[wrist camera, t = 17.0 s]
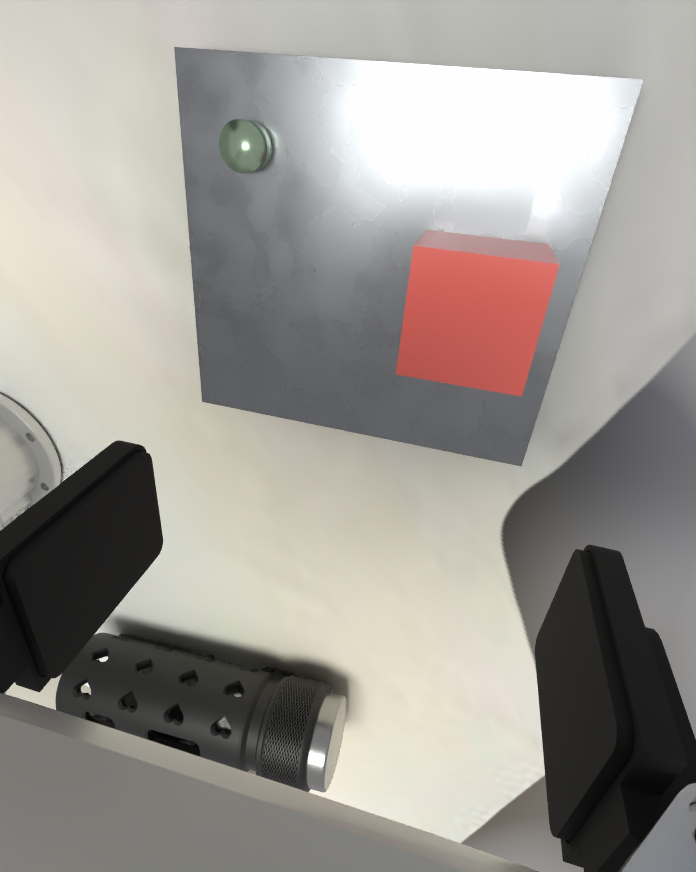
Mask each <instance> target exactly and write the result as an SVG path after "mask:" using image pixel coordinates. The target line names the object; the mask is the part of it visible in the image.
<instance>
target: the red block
mask: <svg viewBox="0 0 696 872" xmlns="http://www.w3.org/2000/svg"><path fill="white" fill-rule="evenodd" d="M559 265H560V264H559V262H558V260H557V258H556V256H555V254H554V252H553V250H552V248H551V246H550V244H543V243H534V242H526V241H518V240H510V239H502V238H493V237H485V236H477V235H469V234H461V233H453V232H444V231H436V230H428V229H427V230H426V231H425V232H424V233H423V235H422V236H421V237H420V238H419V239H418V241H417V242H416V243H415V244H414V245H413V252H412V259H411V267H410V274H409V281H408V289H407V296H406V303H405V311H404V318H403V325H402V332H401V340H400V347H399V354H398V362H397V369H396V375H402V376H408V377H414V378H419V379H425V380H431V381H436V382H442V383H448V384H453V385H459V386H465V387H471V388H476V389H482V390H488V391H493V392H499V393H505V394H511V395H516V396H522V394H523V391H524V387H525V384H526V380H527V377H528V373H529V370H530V366H531V363H532V359H533V356H534V352H535V349H536V345H537V342H538V338H539V335H540V331H541V328H542V324H543V321H544V317H545V314H546V310H547V307H548V303H549V300H550V296H551V293H552V289H553V286H554V282H555V279H556V275H557V272H558V268H559Z"/></svg>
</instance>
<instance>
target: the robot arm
mask: <svg viewBox="0 0 696 872" xmlns="http://www.w3.org/2000/svg"><path fill="white" fill-rule="evenodd" d="M60 480H61V466H60V462H59V458H58V455H57V452H56V450H55V448H54V446H53V444H52V442H51V440H50V439H49V437H48V435H47V434H46V432H45V431H44V430H43V429H42V427H41V426H40V425H39V424H38V422H37V421H36V420H35V419H34V418H33V417H32V416H31V415H30V414H29V413H28V412H27V411H25V410H24V409H23V408H22V407H20V406H19V405H18V404H17V403H15V402H14V401H12V400H10V399H9V398H7V397H5V396H4V395H1V394H0V872H538V871H535V870H532V869H530V868H528V867H525V866H522V865H519V864H517V863H514V862H511V861H508V860H505V859H502V858H499V857H497V856H494V855H491V854H488V853H485V852H483V851H480V850H477V849H474V848H471V847H468V846H466V845H462V844H460V843H457V842H454V841H451V840H449V839H446V838H443V837H440V836H437V835H434V834H432V833H429V832H426V831H423V830H420V829H417V828H414V827H411V826H408V825H405V824H402V823H399V822H396V821H393V820H390V819H387V818H384V817H381V816H378V815H375V814H372V813H369V812H366V811H363V810H360V809H357V808H354V807H351V806H348V805H345V804H342V803H339V802H336V801H333V800H330V799H327V798H324V797H321V796H318V795H315V794H312V793H309V792H306V791H303V790H300V789H297V788H294V787H291V786H288V785H284V784H281V783H278V782H275V781H272V780H269V779H266V778H263V777H260V776H257V775H254V774H251V773H248V772H245V771H242V770H239V769H236V768H233V767H230V766H227V765H224V764H220V763H217V762H214V761H211V760H208V759H205V758H202V757H199V756H196V755H193V754H190V753H187V752H184V751H181V750H178V749H175V748H171V747H168V746H165V745H162V744H159V743H156V742H153V741H150V740H147V739H144V738H141V737H138V736H135V735H132V734H128V733H125V732H122V731H119V730H116V729H113V728H110V727H107V726H103V725H100V724H97V723H94V722H91V721H88V720H85V719H82V718H79V717H75V716H72V715H69V714H66V713H63V712H60V711H57V710H54V709H50V708H47V707H44V706H41V705H38V704H35V703H32V702H29V701H26V700H22V699H19V698H16V697H12V696H9V695H6V691H7V690H8V689H9V687H10V686H11V685H12V684H13V683H14V682H15V683H16V685H19V686H22V687H25V688H28V689H31V690H34V691H37V692H40V691H41V690H42V689H43V688H44V686H45V685H46V684H47V683H48V682H49V680H50V679H51V678H56V677H58V676H59V675H61V674H62V673H63V672H64V671H65V669H66V668H67V667H68V666H69V664H70V663H71V662H72V661H73V660H74V658H75V657H76V656H77V655H78V653H79V652H80V651H81V650H82V649H83V647H84V646H85V645H86V644H87V642H88V641H89V640H90V639H91V637H92V636H93V635H94V634H95V633H96V631H97V630H98V629H99V628H100V626H101V625H102V624H103V623H104V622H105V620H106V619H107V618H108V617H109V615H110V614H111V613H112V612H113V611H114V609H115V608H116V607H117V606H118V604H119V603H120V602H121V601H122V599H123V598H124V597H125V596H126V595H127V593H128V592H129V591H130V590H131V588H132V587H133V586H134V585H135V584H136V582H137V581H138V580H139V579H140V577H141V576H142V575H143V574H144V573H145V571H146V570H147V569H148V568H149V566H150V565H151V564H152V563H153V561H154V560H155V559H156V558H157V557H158V555H159V554H160V551H161V549H162V545H163V536H162V529H161V522H160V515H159V507H158V500H157V493H156V486H155V479H154V471H153V464H152V458H151V456H150V454H148V453H146V449H145V448H144V447H143V446H141V445H138V444H133V443H129V442H124V441H115V442H113V443H112V444H111V445H109V446H108V447H107V448H105V449H104V450H103V451H102V452H100V453H99V454H98V455H97V456H95V457H94V458H93V459H91V460H90V461H89V462H88V463H86V464H85V465H84V466H82V467H81V468H80V469H79V470H77V471H76V472H75V473H73V474H72V475H71V476H70V477H68V478H67V479H66V480H65V481H63V482H62V483H61V484H60ZM26 506H31V507H30V508H29V509H27V510H26V511H25V512H24V513H22V514H21V515H20V516H18V517H17V518H16V514H17V512H18V511H19V510H21V509H22V508H23V507H26ZM535 659H536V671H537V683H538V695H539V706H540V718H541V730H542V742H543V753H544V765H545V777H546V788H547V800H548V811H549V823H550V829H551V833H552V835H553V836H554V837H557V838H560V839H561V845H562V855H563V861H564V862H567V863H570V864H573V865H576V866H580V867H583V868H584V872H696V740H695V736H694V734H693V731H692V728H691V725H690V722H689V719H688V716H687V713H686V710H685V707H684V704H683V702H682V699H681V696H680V693H679V690H678V687H677V684H676V681H675V678H674V676H673V673H672V670H671V667H670V664H669V661H668V658H667V655H666V652H665V649H664V646H663V643H662V641H661V639H660V637H659V635H658V633H657V632H656V631H655V630H654V629H651V628H646V627H645V625H644V622H643V619H642V616H641V613H640V610H639V607H638V604H637V600H636V597H635V594H634V591H633V588H632V585H631V582H630V578H629V575H628V572H627V569H626V566H625V563H624V560H623V557H622V555H621V553H620V552H619V551H616V550H611V549H606V548H602V547H598V546H593V545H587V546H586V547H585V549H584V550H583V551H582V550H578V549H577V550H575V551H574V553H573V555H572V557H571V559H570V562H569V564H568V566H567V568H566V571H565V573H564V575H563V578H562V580H561V582H560V585H559V587H558V589H557V592H556V594H555V597H554V599H553V601H552V603H551V606H550V608H549V610H548V613H547V615H546V617H545V619H544V622H543V624H542V626H541V629H540V631H539V633H538V636H537V639H536V645H535Z"/></svg>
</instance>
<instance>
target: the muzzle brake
mask: <svg viewBox="0 0 696 872" xmlns="http://www.w3.org/2000/svg"><path fill="white" fill-rule="evenodd" d="M105 656H108V657H109V658H108V660H107V661H105V662H100V661H99V660H96V659H99V658H102V657H105ZM87 682H88V684H89V686H90V688H91V695H89V693H82V692H81V686H82V685H84V684H85V683H87ZM56 710H57V711H60V712H63V713H66V714H69V715H72V716H75V717H79V718H82V719H85V720H88V721H91V722H94V723H97V724H100V725H103V726H107V727H110V728H113V729H116V730H119V731H122V732H125V733H128V734H132V735H135V736H138V737H141V738H144V739H147V740H150V741H153V742H156V743H159V744H162V745H165V746H168V747H171V748H175V749H178V750H181V751H184V752H187V753H190V754H193V755H196V756H199V757H202V758H205V759H208V760H211V761H214V762H217V763H220V764H224V765H227V766H230V767H233V768H236V769H239V770H242V771H245V772H248V771H249V770H253V771H256V775H257V776H260V777H263V778H266V779H269V780H272V781H275V782H278V783H281V784H284V785H288V786H291V787H294V788H297V789H300V790H303V791H306V792H309V791H310V789H313V790H317V791H320V792H326V791H327V789H328V788H329V785H330V783H331V781H332V778H333V775H334V771H335V768H336V764H337V760H338V756H339V752H340V747H341V742H342V737H343V731H344V725H345V718H346V697H345V696H343V695H339V694H335V693H332V690H331V688H330V687H329V686H328V685H326V684H325V683H323V682H318V681H314V680H310V679H306V678H302V677H298V676H294V673H291V672H287V671H283V670H279V669H274V668H270V667H264V668H263V669H262V670H261V671H260V670H256V669H251V668H248V667H244V666H240V665H236V664H231V663H227V662H223V661H219V660H215V659H214V656H211V655H209V656H208V657H206V656H202V655H198V654H194V653H192V651H190V650H186V649H182V648H178V647H174V646H170V645H165V644H161V643H157V642H153V641H149V640H145V639H141V638H137V637H132V636H128V635H124V634H121V635H119V636H116V635H112V634H108V633H98V634H95V635H93V636H92V637H91V639H90V640H89V641H88V642H87V644H86V645H85V646H84V647H83V649H82V650H81V651H80V652H79V653H78V655H77V656H76V657H75V658H74V660H73V661H72V662H71V663H70V664H69V666H68V667H67V668H66V669H65V671H64V672H63V673H62V675H61V678H60V681H59V684H58V688H57V692H56Z"/></svg>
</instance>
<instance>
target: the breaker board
mask: <svg viewBox="0 0 696 872" xmlns="http://www.w3.org/2000/svg"><path fill="white" fill-rule="evenodd" d="M174 49H175V62H176V74H177V87H178V100H179V112H180V125H181V138H182V150H183V163H184V176H185V189H186V201H187V214H188V227H189V239H190V252H191V265H192V277H193V290H194V303H195V316H196V328H197V341H198V354H199V366H200V379H201V392H202V402H207V403H212V404H217V405H221V406H226V407H231V408H236V409H241V410H246V411H251V412H256V413H261V414H266V415H271V416H276V417H281V418H286V419H291V420H296V421H300V422H305V423H310V424H315V425H320V426H325V427H330V428H335V429H340V430H345V431H350V432H355V433H360V434H365V435H370V436H374V437H379V438H384V439H389V440H394V441H399V442H404V443H409V444H414V445H419V446H424V447H429V448H434V449H439V450H444V451H449V452H453V453H458V454H463V455H468V456H473V457H478V458H483V459H488V460H493V461H498V462H503V463H508V464H513V465H518V466H522V463H523V460H524V457H525V453H526V450H527V447H528V444H529V441H530V438H531V434H532V431H533V428H534V425H535V422H536V419H537V415H538V412H539V409H540V406H541V403H542V400H543V396H544V393H545V390H546V387H547V384H548V381H549V377H550V374H551V371H552V368H553V365H554V362H555V358H556V355H557V352H558V349H559V346H560V343H561V339H562V336H563V333H564V330H565V327H566V324H567V320H568V317H569V314H570V311H571V308H572V305H573V301H574V298H575V295H576V292H577V289H578V286H579V282H580V279H581V276H582V273H583V270H584V267H585V263H586V260H587V257H588V254H589V251H590V248H591V244H592V241H593V238H594V235H595V232H596V229H597V225H598V222H599V219H600V216H601V213H602V210H603V207H604V203H605V200H606V197H607V194H608V191H609V188H610V184H611V181H612V178H613V175H614V172H615V169H616V165H617V162H618V159H619V156H620V153H621V150H622V146H623V143H624V140H625V137H626V134H627V131H628V127H629V124H630V121H631V118H632V115H633V112H634V108H635V105H636V102H637V99H638V96H639V93H640V89H641V86H642V83H643V80H642V79H627V78H613V77H599V76H584V75H570V74H555V73H541V72H526V71H512V70H497V69H483V68H468V67H454V66H440V65H425V64H411V63H396V62H382V61H367V60H353V59H338V58H324V57H310V56H295V55H281V54H266V53H252V52H237V51H223V50H208V49H194V48H179V47H174ZM427 229H428V230H436V231H444V232H453V233H461V234H469V235H477V236H485V237H493V238H502V239H510V240H518V241H526V242H534V243H543V244H550V246H551V248H552V250H553V252H554V254H555V256H556V258H557V260H558V262H559V264H560V265H559V268H558V272H557V275H556V279H555V282H554V286H553V289H552V293H551V296H550V300H549V303H548V307H547V310H546V314H545V317H544V321H543V324H542V328H541V331H540V335H539V338H538V342H537V345H536V349H535V352H534V356H533V359H532V363H531V366H530V370H529V373H528V377H527V380H526V384H525V387H524V391H523V394H522V396H516V395H511V394H505V393H499V392H493V391H488V390H482V389H476V388H471V387H465V386H459V385H453V384H448V383H442V382H436V381H431V380H425V379H419V378H414V377H408V376H402V375H396V369H397V362H398V354H399V347H400V340H401V332H402V325H403V318H404V311H405V303H406V296H407V289H408V281H409V274H410V267H411V259H412V252H413V245H414V244H415V243H416V242H417V241H418V239H419V238H420V237H421V236H422V235H423V233H424V232H425V231H426V230H427Z"/></svg>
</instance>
